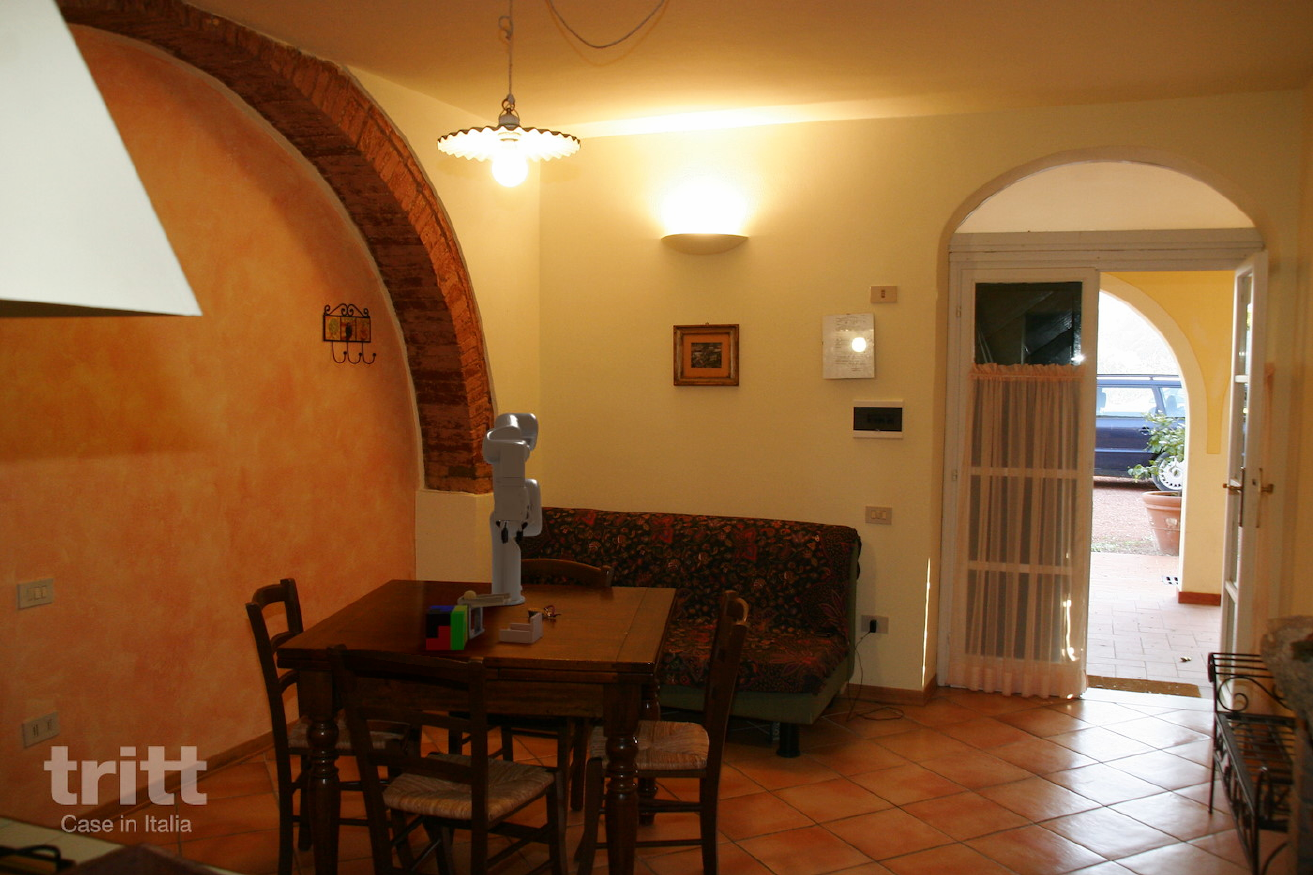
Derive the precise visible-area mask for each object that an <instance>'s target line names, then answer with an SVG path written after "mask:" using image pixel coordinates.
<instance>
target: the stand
mask: <svg viewBox="0 0 1313 875" xmlns="http://www.w3.org/2000/svg"><path fill="white" fill-rule="evenodd" d="M463 606H467V640H472V639H474V638H475V637H477V636H479V635H481V634H483V633H484V632H486V631H485V630H486V629H485V628H483V607H476V608H475V609H473V610H474V611H473V612H474V615H473V617H474V622H473V627H474V628H473V629H472V627H471V626H472V622H471V621H472V620H471V619H472V612H471V611H472V610H471V604H469V603H464V604H463Z"/></svg>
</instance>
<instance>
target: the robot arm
mask: <svg viewBox="0 0 1313 875" xmlns="http://www.w3.org/2000/svg"><path fill="white" fill-rule="evenodd" d="M539 428H540V427H539V421H538V418H537V417H536V416H535V414H533V413H531V412H506V413H505V412H504V413H501V414H499V415H498V416H496V418H495V420H494V426H493V427H492V428H490V429H488V430H487V431H486V432H485V435H484V438H483V439H482V456H483V460H484V462H485V463H487V464H489V465H491V468H492V493H493V501H494V505H493V506H494V508H493V511H492V512H491V513H490V516H489V530H490V534H491V594H496V593H508V592H510V593H511V601H510V602H508V603H506V604H504V605H503V606H513V605H520V604H523V603H525V602H526V598H525V596H523V595H522V594H521V591H523V586H522V585H521V576H522V575H521V574H522V572H521V570H522V569H521V568H522V567H521V565H522V564H521V561H522V560H521V559H522V557H521V554H522V553H521V547H520V546H519V545H521V544H523V542H524V537H535V536H538V535H540V534H541V533H542V529H543V512H542V511H543V508H542V495H541V492H542V491H541V486H540V484H539V481H537V480H536V478H535V479H534V478H526V462H528V460H529V459H530V456H531V454H530V453H531V452H533V451H534V450H535V449H536V446H537V442H538V436H539ZM514 538H515V539H516V540H515V539H514Z"/></svg>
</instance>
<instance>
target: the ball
mask: <svg viewBox="0 0 1313 875" xmlns="http://www.w3.org/2000/svg"><path fill="white" fill-rule="evenodd" d="M476 595H477V593H476V592H475V591H473V590H468V591H465V592H464V594H463V596H464V599H475V598H476Z"/></svg>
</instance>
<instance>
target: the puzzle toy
mask: <svg viewBox="0 0 1313 875" xmlns="http://www.w3.org/2000/svg"><path fill="white" fill-rule="evenodd" d="M467 642H468V639H467V606H454V605H431V606H430V607H429V608H428V610H427V612H426V613H425V651H455V650H456V651H460V650H461V651H463V650H464V649H465V646H466V643H467Z"/></svg>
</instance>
